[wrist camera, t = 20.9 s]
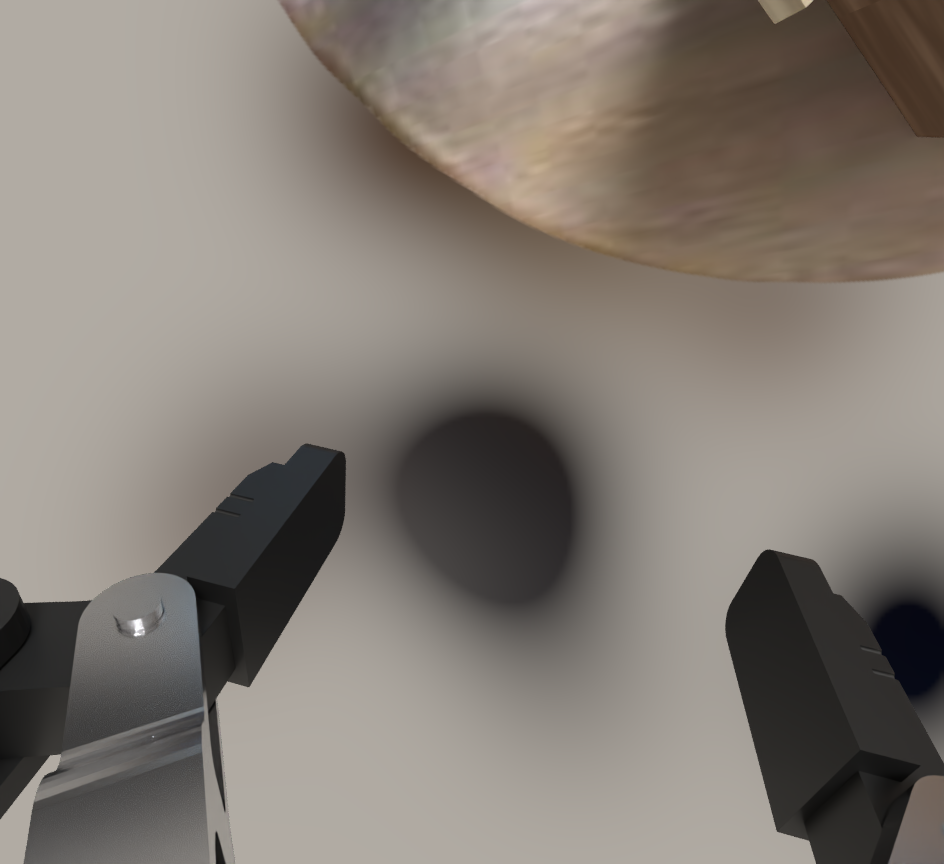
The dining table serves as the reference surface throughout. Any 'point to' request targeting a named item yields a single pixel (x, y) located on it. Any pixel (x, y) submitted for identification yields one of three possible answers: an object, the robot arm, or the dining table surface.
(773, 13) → the maple rod
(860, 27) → the block
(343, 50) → the dining table surface
